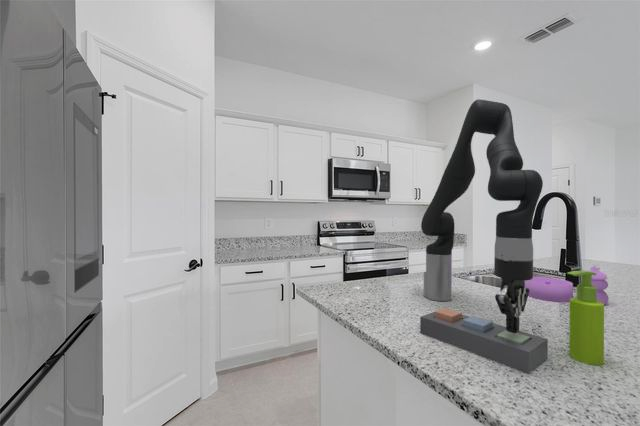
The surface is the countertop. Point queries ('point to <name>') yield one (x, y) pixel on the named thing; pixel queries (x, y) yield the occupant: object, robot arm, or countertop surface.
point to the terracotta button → (448, 315)
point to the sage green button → (514, 337)
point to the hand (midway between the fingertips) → (512, 331)
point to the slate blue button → (478, 324)
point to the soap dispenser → (586, 322)
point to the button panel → (488, 343)
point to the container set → (564, 288)
